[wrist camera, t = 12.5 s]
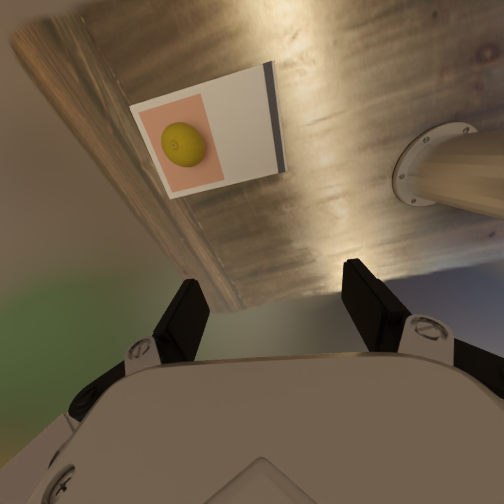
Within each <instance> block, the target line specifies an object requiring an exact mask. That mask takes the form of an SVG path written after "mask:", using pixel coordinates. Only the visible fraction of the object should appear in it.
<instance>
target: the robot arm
mask: <svg viewBox="0 0 504 504" xmlns="http://www.w3.org/2000/svg"><path fill="white" fill-rule="evenodd" d="M393 188H394V192H395V194H396V196H397V197H398V198H399V199H400V200H401V201H402V202H404V203H406V204H408V205H411V206H417V207H420V206H429V205H433V204H436V203H441V204H445V205H448V206H452V207H456V208H459V209H463V210H467V211H470V212H474V213H478V214H481V215H485V216H489V217H492V218H496V219H500V220H503V221H504V130H494V131H484V132H478V130H477V129H476V128H475V127H473V126H472V125H470V124H467V123H464V122H453V123H446V124H442V125H438V126H436V127H434V128H432V129H430V130H428V131H426V132H425V133H423V134H422V135H420V136H419V137H418V138H417V139H415V140H414V141H413V142H412V143H411V144H410V145H409V147H408V148H407V149H406V150H405V152H404V153H403V154H402V156H401V157H400V159H399V161H398V163H397V165H396V168H395V171H394V176H393ZM341 296H342V301H343V303H344V305H345V307H346V309H347V311H348V312H349V314H350V316H351V318H352V320H353V322H354V323H355V326H356V327H357V329H358V331H359V333H360V335H361V337H362V339H363V341H364V343H365V344H366V346H367V348H368V350H369V352H357V353H331V354H311V355H292V356H274V357H256V358H239V359H222V360H205V361H194V359H195V356H196V353H197V350H198V347H199V344H200V341H201V338H202V335H203V332H204V329H205V326H206V323H207V320H208V317H209V313H210V310H209V307H208V304H207V302H206V300H205V297H204V295H203V292H202V290H201V288H200V285H199V283H198V281H197V280H195V279H186V280H184V282H183V283H182V285H181V287H180V288H179V290H178V292H177V293H176V295H175V296H174V298H173V300H172V301H171V303H170V305H169V306H168V308H167V310H166V311H165V313H164V315H163V316H162V318H161V320H160V321H159V323H158V325H157V326H156V328H155V329H154V331H153V332H154V333H153V335H152V336H145V337H142V338H140V339H138V340H137V341H135V342H134V343H133V344H132V345H130V347H129V348H128V349H127V351H126V353H125V357H124V361H122V362H121V363H119V364H118V365H116V366H115V367H113V368H112V369H110V370H109V371H108V372H106V373H105V374H104V375H102V376H100V377H99V378H97V379H96V380H94V381H93V382H92V383H90V384H89V385H87V386H86V387H85V388H83V389H82V391H80V392H79V394H77V396H76V397H75V398H74V399H73V401H72V403H71V405H70V407H69V410H68V412H67V413H66V414H64V413H62V414H61V415H60V416H59V417H58V418H57V419H55V420H54V421H53V422H52V423H51V424H50V425H49V426H48V427H47V428H46V429H44V430H43V431H42V432H41V433H40V434H39V435H38V436H37V437H36V438H35V439H34V440H32V441H31V442H30V443H29V444H28V445H27V446H26V447H25V448H24V449H22V450H21V451H20V452H19V453H18V454H17V455H16V456H15V457H14V458H13V459H11V460H10V461H9V462H8V463H7V464H6V465H5V466H4V467H3V468H2V469H1V470H0V504H504V358H502V357H500V356H497V355H495V354H492V353H490V352H487V351H485V350H483V349H480V348H478V347H475V346H473V345H470V344H468V343H465V342H463V341H460V340H458V339H455V338H454V335H453V332H452V331H451V330H450V328H449V327H448V326H446V325H445V324H444V323H442V322H441V321H439V320H437V319H435V318H432V317H430V316H426V315H419V314H416V315H412V314H411V313H410V312H409V310H408V309H407V308H406V307H405V306H404V305H403V304H402V303H401V302H400V301H399V300H398V298H397V297H396V296H395V295H394V294H393V293H392V292H391V291H390V290H389V289H388V288H387V286H386V285H385V284H384V283H383V282H382V281H381V280H380V279H377V278H376V277H375V276H374V275H373V274H372V273H371V272H370V271H369V270H368V268H367V267H366V266H365V265H364V264H363V263H362V262H361V261H360V259H358V258H356V259H348V260H347V262H344V265H343V279H342V295H341Z"/></svg>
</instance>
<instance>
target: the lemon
mask: <svg viewBox="0 0 504 504" xmlns="http://www.w3.org/2000/svg"><path fill="white" fill-rule="evenodd" d="M161 146H162V149H163V151H164V153H165V155H166V156H167V158H168V159H169V160H170V161H171V162H173V163H174V164H176V165H178V166H181V167H193V166H195V165H197V164H198V163H200V161H201V160H202V159H203V156H204V152H205V145H204V141H203V139H202V137H201V135H200V133H199V132H198V131H197V130H196V129H195V128H194V127H192V126H191V125H189V124H186V123H182V122H176V123H172V124H170V125H168V126H167V127H166V128H165V129H164V131H163V133H162V136H161Z"/></svg>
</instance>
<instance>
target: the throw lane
mask: <svg viewBox="0 0 504 504" xmlns="http://www.w3.org/2000/svg"><path fill="white" fill-rule="evenodd" d="M129 107H130V110H131V112H132V114H133V116H134V119H135V121H136V123H137V126H138V128H139V130H140V132H141V135H142V137H143V139H144V141H145V144H146V146H147V148H148V151H149V153H150V155H151V157H152V160H153V162H154V164H155V166H156V169H157V171H158V173H159V176H160V178H161V180H162V182H163V185H164V187H165V189H166V191H167V194H168V196H169V198H170V199H173V198H177V197H181V196H185V195H189V194H194V193H198V192H202V191H206V190H210V189H214V188H219V187H223V186H227V185H231V184H235V183H239V182H243V181H248V180H252V179H256V178H260V177H264V176H268V175H272V174H277V173H281V172H285V171H288V170H287V162H286V154H285V145H284V137H283V128H282V120H281V112H280V103H279V95H278V86H277V78H276V70H275V61H270V62H267V63H264V64H261V65H258V66H255V67H252V68H249V69H246V70H242V71H239V72H236V73H233V74H230V75H227V76H223V77H220V78H217V79H214V80H211V81H208V82H205V83H201V84H198V85H195V86H192V87H189V88H186V89H182V90H179V91H176V92H173V93H170V94H167V95H164V96H160V97H157V98H154V99H151V100H148V101H145V102H141V103H138V104H135V105H132V106H129ZM176 122H182V123H186V124H189V125H191V126H192V127H194V128H195V129H196V130H197V131H198V132H199V133H200V135H201V137H202V139H203V141H204V145H205V152H204V156H203V159H202V160H201V161H200V163H198V164H197V165H195V166H193V167H181V166H178V165H176V164H174V163H173V162H171V161H170V160H169V159H168V158H167V156H166V155H165V153H164V151H163V149H162V146H161V136H162V133H163V131H164V129H165V128H166V127H167V126H168V125H170V124H172V123H176Z"/></svg>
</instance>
